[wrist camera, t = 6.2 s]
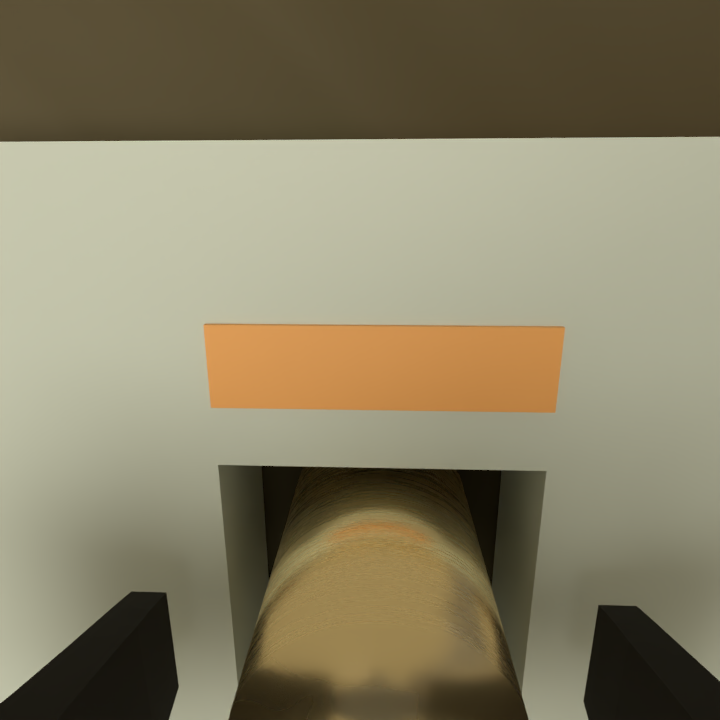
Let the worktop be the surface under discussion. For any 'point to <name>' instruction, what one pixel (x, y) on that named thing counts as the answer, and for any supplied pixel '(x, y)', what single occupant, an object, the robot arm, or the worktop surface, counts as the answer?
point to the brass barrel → (378, 607)
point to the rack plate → (358, 378)
